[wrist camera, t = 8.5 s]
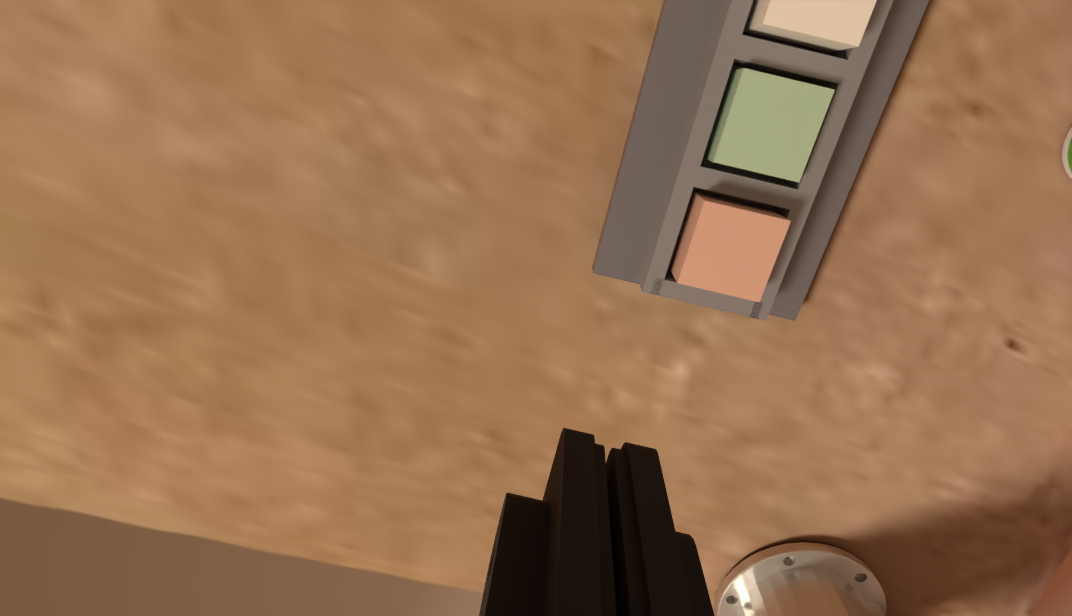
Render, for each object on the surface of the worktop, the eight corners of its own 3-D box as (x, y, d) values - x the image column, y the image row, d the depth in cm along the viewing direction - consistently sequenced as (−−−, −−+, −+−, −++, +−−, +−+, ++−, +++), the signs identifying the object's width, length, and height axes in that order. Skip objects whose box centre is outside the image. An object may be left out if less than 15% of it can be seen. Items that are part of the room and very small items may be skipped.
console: (937, -56, 29) (990, -79, 26) (787, 312, 37) (810, 336, 33) (694, -114, 29) (711, -146, 25) (592, 266, 37) (593, 285, 33)
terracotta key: (771, 209, 32) (790, 221, 29) (743, 284, 34) (759, 302, 31) (692, 191, 32) (704, 200, 29) (668, 267, 34) (677, 283, 31)
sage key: (809, 90, 31) (834, 89, 28) (779, 175, 32) (799, 182, 29) (727, 71, 31) (743, 67, 28) (700, 156, 32) (713, 162, 29)
